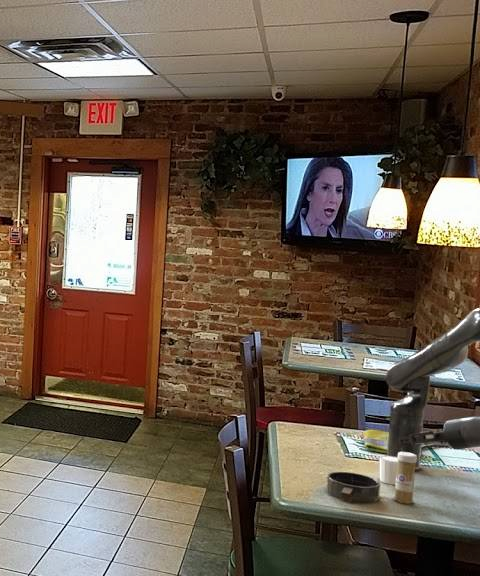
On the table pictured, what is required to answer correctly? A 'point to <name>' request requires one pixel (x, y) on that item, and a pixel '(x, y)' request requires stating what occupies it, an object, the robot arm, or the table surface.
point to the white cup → (388, 469)
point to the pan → (354, 486)
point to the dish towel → (376, 440)
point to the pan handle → (347, 494)
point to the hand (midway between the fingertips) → (406, 441)
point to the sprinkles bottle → (405, 477)
